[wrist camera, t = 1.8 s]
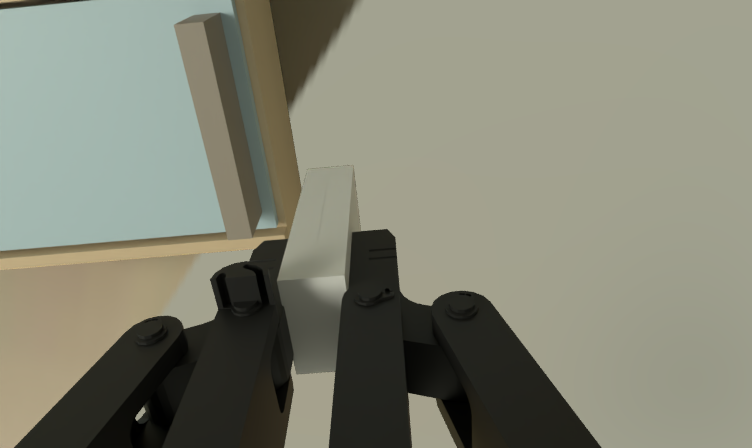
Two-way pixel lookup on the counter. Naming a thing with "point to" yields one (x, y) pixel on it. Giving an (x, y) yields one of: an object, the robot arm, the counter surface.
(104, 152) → the lid
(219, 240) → the wooden box
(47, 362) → the counter surface
